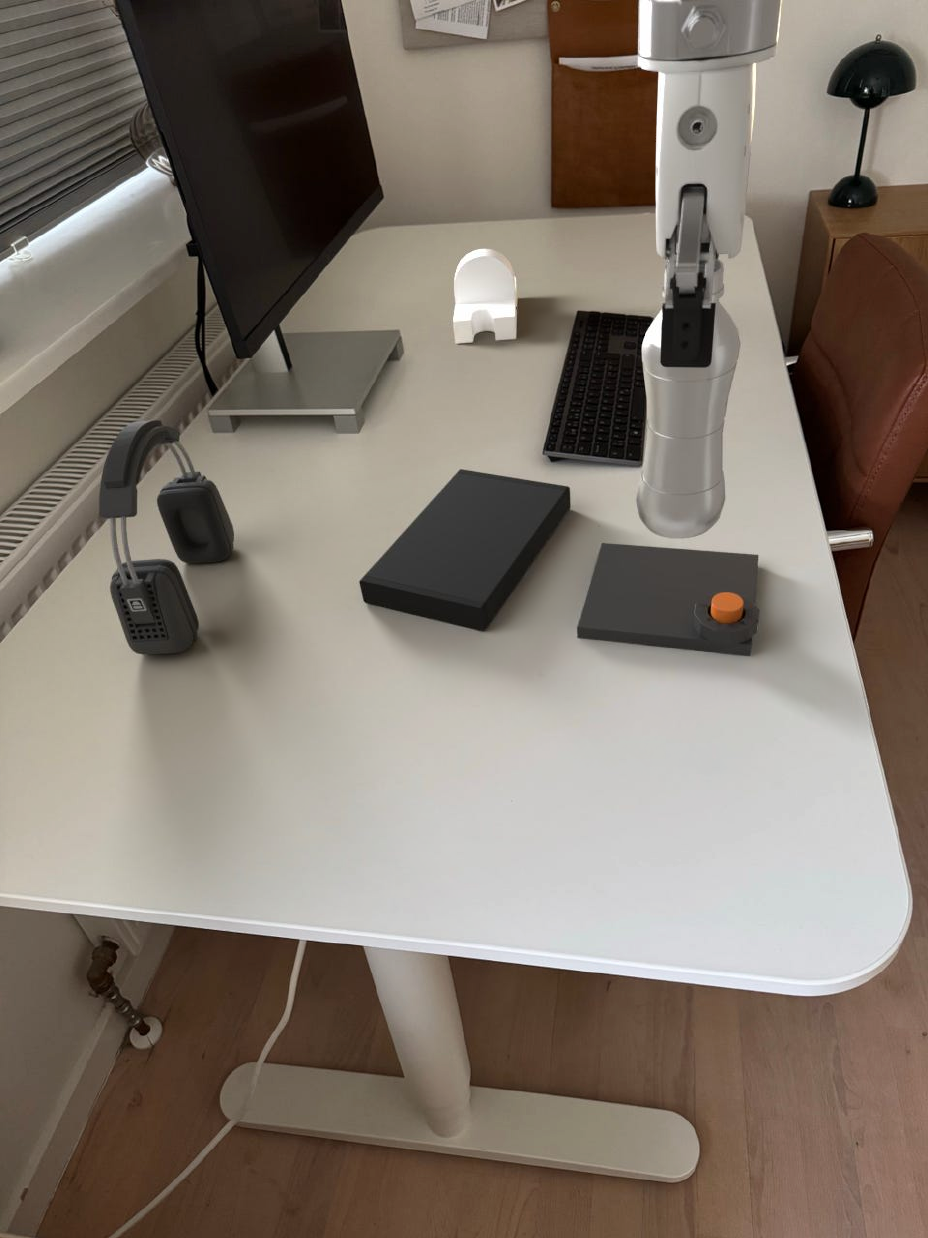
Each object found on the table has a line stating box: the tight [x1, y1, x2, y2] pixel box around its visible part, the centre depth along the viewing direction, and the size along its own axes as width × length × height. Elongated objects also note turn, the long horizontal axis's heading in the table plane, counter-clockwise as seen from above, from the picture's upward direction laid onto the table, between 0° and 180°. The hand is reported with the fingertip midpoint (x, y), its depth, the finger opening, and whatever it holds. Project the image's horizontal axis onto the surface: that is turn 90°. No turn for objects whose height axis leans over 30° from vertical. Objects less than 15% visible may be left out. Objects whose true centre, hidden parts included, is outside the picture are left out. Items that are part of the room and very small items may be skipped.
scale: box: [576, 542, 760, 657], centre depth 88 cm, size 16×14×3 cm
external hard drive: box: [358, 468, 571, 632], centre depth 97 cm, size 14×23×3 cm, turn 154°
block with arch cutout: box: [452, 248, 518, 345], centre depth 146 cm, size 18×10×11 cm, turn 177°
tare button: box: [711, 592, 744, 624], centre depth 82 cm, size 3×3×2 cm
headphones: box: [98, 419, 235, 656], centre depth 92 cm, size 22×6×20 cm, turn 178°
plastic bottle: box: [635, 259, 741, 540], centre depth 63 cm, size 6×7×20 cm
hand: (690, 340), depth 60 cm, fingers closed on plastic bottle, 6 cm apart
